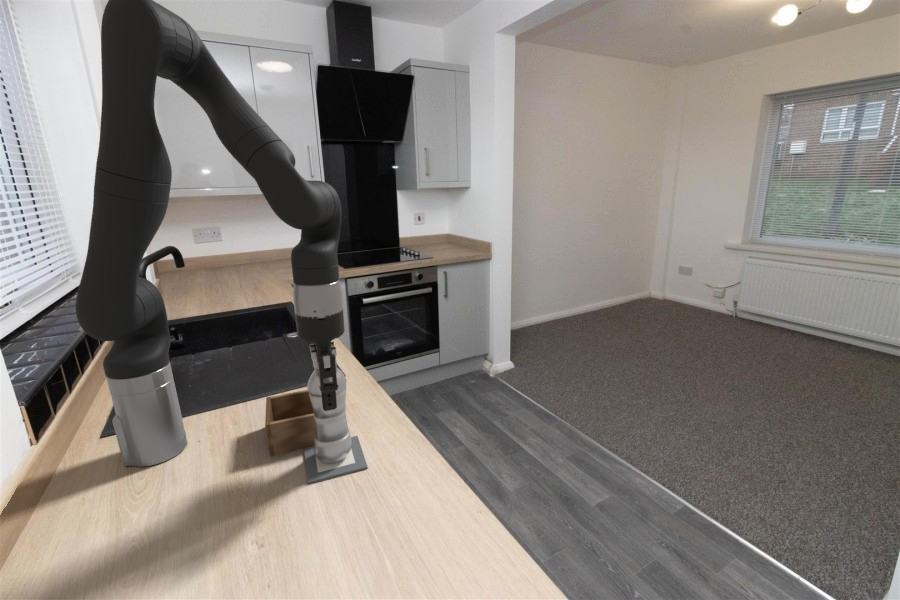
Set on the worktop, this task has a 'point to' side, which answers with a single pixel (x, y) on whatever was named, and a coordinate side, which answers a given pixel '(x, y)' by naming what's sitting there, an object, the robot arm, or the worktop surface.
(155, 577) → the worktop surface
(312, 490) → the worktop surface
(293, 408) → the crate
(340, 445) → the plastic bottle
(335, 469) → the mat
